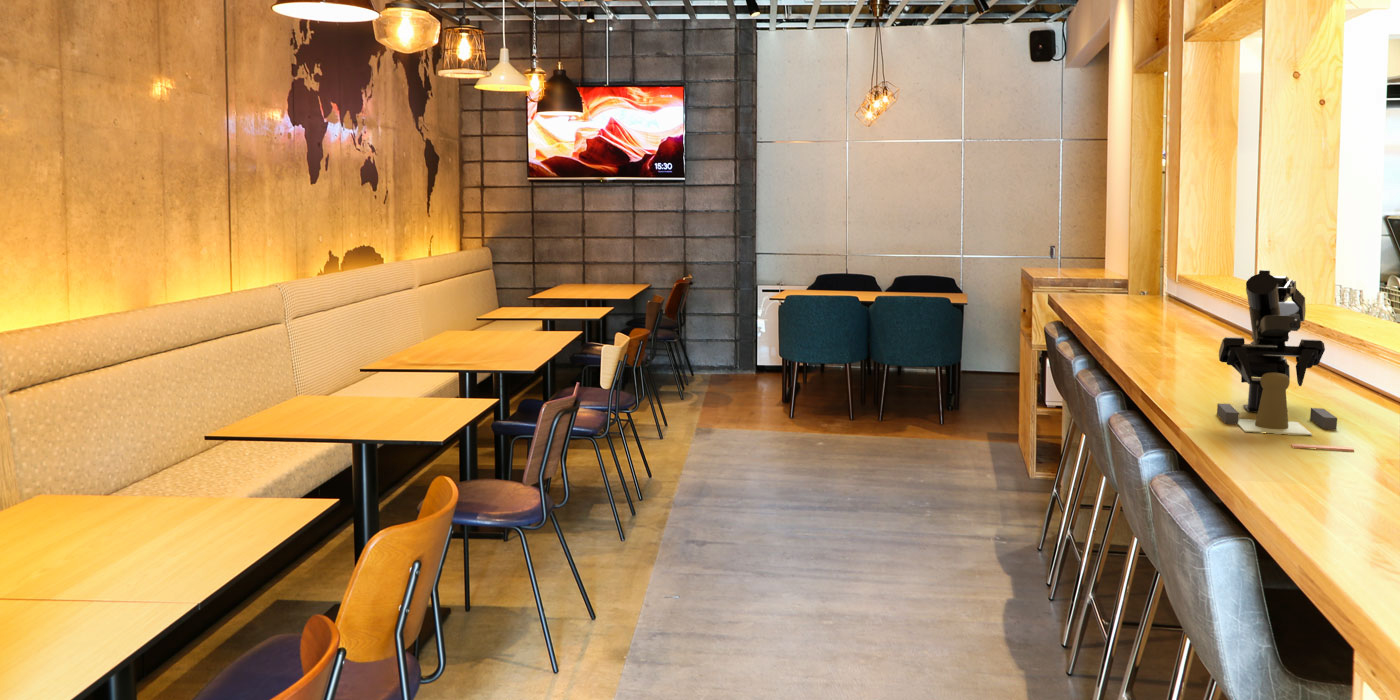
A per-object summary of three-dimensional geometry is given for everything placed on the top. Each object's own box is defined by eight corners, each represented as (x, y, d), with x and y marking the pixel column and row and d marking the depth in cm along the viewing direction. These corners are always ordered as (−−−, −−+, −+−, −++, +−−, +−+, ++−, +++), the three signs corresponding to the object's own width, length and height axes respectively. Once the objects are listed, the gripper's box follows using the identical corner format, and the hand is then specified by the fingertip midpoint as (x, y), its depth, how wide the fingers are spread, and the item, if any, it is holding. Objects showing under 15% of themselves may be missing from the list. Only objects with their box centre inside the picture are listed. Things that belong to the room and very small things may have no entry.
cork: (1280, 423, 213) (1284, 370, 211) (1294, 429, 207) (1298, 375, 205) (1249, 422, 213) (1253, 370, 212) (1262, 428, 207) (1266, 375, 206)
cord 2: (1310, 419, 218) (1310, 407, 218) (1322, 419, 217) (1323, 408, 217) (1322, 428, 209) (1323, 417, 208) (1336, 429, 208) (1337, 418, 208)
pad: (1233, 420, 217) (1233, 418, 217) (1297, 423, 214) (1297, 421, 214) (1244, 432, 206) (1245, 430, 206) (1312, 436, 202) (1312, 434, 202)
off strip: (1290, 445, 195) (1290, 443, 195) (1350, 449, 192) (1350, 447, 192) (1293, 448, 193) (1293, 445, 193) (1353, 451, 190) (1354, 449, 190)
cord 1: (1216, 414, 224) (1217, 403, 223) (1229, 414, 223) (1229, 404, 222) (1225, 423, 214) (1226, 412, 214) (1238, 424, 213) (1238, 413, 213)
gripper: (1225, 299, 214) (1232, 359, 205) (1326, 300, 209) (1338, 362, 200) (1215, 331, 223) (1222, 390, 214) (1312, 334, 217) (1323, 394, 209)
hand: (1275, 384), depth 209 cm, fingers open, 9 cm apart
